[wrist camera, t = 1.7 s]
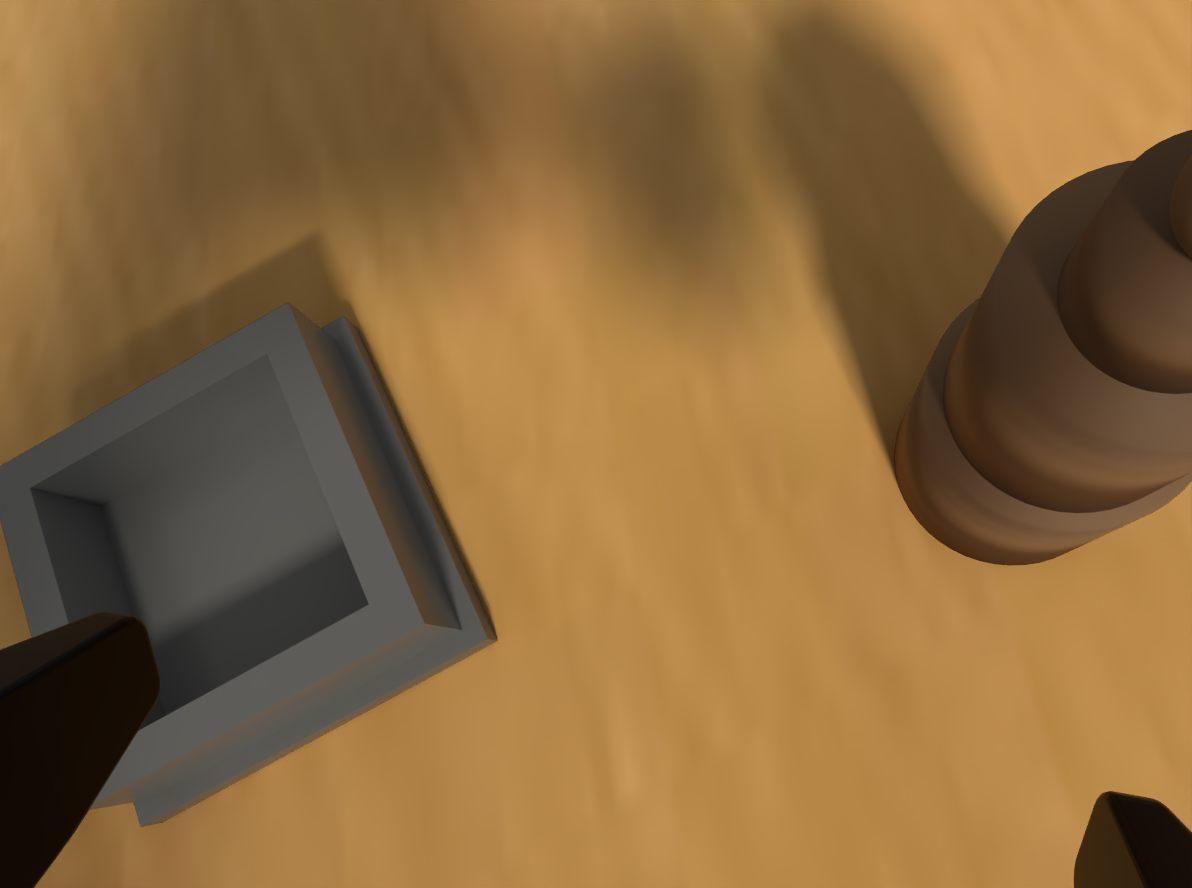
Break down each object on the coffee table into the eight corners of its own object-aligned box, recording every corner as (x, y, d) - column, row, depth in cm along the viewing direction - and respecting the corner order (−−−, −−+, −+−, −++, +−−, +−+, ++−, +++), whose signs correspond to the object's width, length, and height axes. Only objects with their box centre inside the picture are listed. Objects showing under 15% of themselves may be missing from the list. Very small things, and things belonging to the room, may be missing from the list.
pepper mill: (1164, 500, 21) (1752, 218, 8) (970, 603, 21) (1255, 480, 8) (1034, 327, 22) (1361, -130, 10) (854, 424, 22) (949, 99, 10)
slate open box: (497, 640, 23) (452, 633, 20) (161, 822, 23) (65, 844, 20) (355, 326, 26) (298, 277, 23) (62, 492, 26) (-33, 466, 23)
